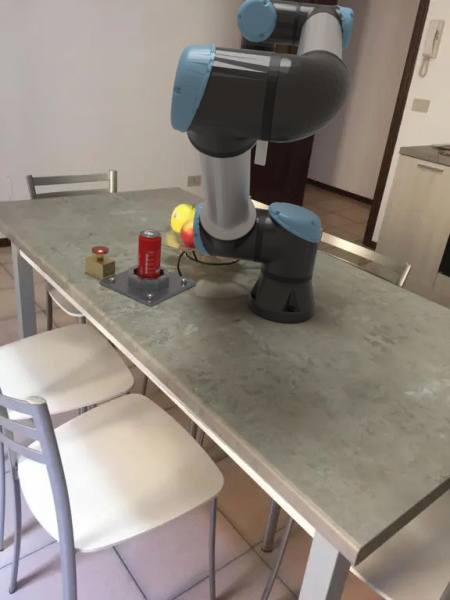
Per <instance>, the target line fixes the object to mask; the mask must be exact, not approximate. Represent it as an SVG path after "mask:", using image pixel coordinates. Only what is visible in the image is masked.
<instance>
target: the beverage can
mask: <svg viewBox="0 0 450 600" xmlns="http://www.w3.org/2000/svg"><path fill="white" fill-rule="evenodd" d="M162 240H163V239H162V234H161V232H159V231H157V230H151V229H145V230H142V231H140V232H139V235H138V246H137V247H138V248H137V249H138V250H137V265H138V276H139V277H142V278H158V277H160V266H161V263H162V262H161V260H162V259H161V258H162V257H161V256H162Z"/></svg>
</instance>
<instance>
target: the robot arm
mask: <svg viewBox="0 0 450 600" xmlns="http://www.w3.org/2000/svg"><path fill="white" fill-rule="evenodd" d="M354 17H355V14H354V10H353V9H352V8H351V7H345V6H340V5H338V4H337V5H336V4H334V5H330V4H319V3H318V4H317V3H307V2H305V3H304V2H298V1H289V0H245V1H244V2H242V4H241V5H240V7H239V9H238V12H237V15H236V24H237V27H238V30H239V32H240V34H241V36H242V40H241V48H230V47H223V46H222V47H220V46H216V44H214V43H213V44H212V43H210V44H209V45H208V44H207V45H206V44H191V45H188V46H186V47H185V48H184V49H183V50H182V52H181V55H180V57H179V59H178V64H177V67H176V70H175V71H176V72H175V75H174V76H175V77H174V81H173V87H172V93H171V94H172V96H171V105H170V125H171V127H172V129H173V130H175V131H179V132H180V133H186V134H187V138H188V141H189V143H190V144H191V146H192V147H193V148H194V149H195V150H196V151H197V152H198V153H199V160H200V162H199V163H200V169H201V176H202V184H203V192H204V200H203V201H201V202H199V203H198V204H197V206H196V208H195V213H194V217H193V221H192V233H193V237H192V239H193V243H194V247H195V249H196V250H197V252H199V254H200V255H201V254H202V255H206V256H209V257H212V258H224V259H230V260H237V261H246V262H253V263H258V264H261V265H260V271H259V273H258V276H257V278H256V280H255V282H254V284H253V286H252V288H251V289H250V292H249V294H248V295H249V296H248V302H247V303H248V307H249V309H250V310H251V311H252V312H253V313H255V314H256V315H257V316H259V317H262V318H264V319H267V320H269V321H273V322H279V323H285V324H287V323H289V324H293V323H294V324H295V323H302V322H305V321H308V320H309V319H311V318H312V317H313V315H314V312H315V306H316V299H315V296H314V289H313V287H314V286H313V275H314V270H315V263H316V259H317V253H318V247H319V243H320V242H321V231H322V221H321V218H320V217H319V216H318V215H317V214H316V213H315V212H314V211H311V210H310V209H308V208H306V207H303V206H301V205H297V204H293V203H288V202H278V201H276V202H275V201H274V202H271V204H269V205H268V207H267V209H265V208H259V207H256V206H255V204H254V202H253V200H252V199H251V197H250V194H251V193H250V190H251V189H250V188H251V187H250V186H251V157H252V156H251V155H252V154H251V153H252V151H251V150H252V149H253V148H254V147H255V146H256V148H255V155H254V161H253V162H254V164H255V165H259V166H263V167H265V165H266V161H267V154H268V153H267V151H268V146H269V143H276V144H277V143H278V144H282V143H284V144H285V143H293V142H296V141H301V140H304V139H306V138H308V137H311V136H313V135H315V134H317V133H318V132H320V131H321V130H323V129H324V128H326V127H328V125H329V124H331V123H332V122H333V121H334V120H335V119H336V118H337V117H338V115H339V114H340V113H341V112H342V111H343V109H344V107H345V104H346V103H347V100H348V98H349V93H350V84H351V83H350V74H349V70H348V67H347V65H346V63H345V62H344V61H343V51H345V50H346V49H347V48H348V46H349V45H350V41H351V37H352V30H353V25H354ZM277 45H288V46H294V47H298V48H297V52H296V54H293V53H291V54H290V53H282V52H281V53H278V52H276V47H277Z"/></svg>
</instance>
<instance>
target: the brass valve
mask: <svg viewBox="0 0 450 600" xmlns="http://www.w3.org/2000/svg"><path fill="white" fill-rule="evenodd" d="M109 250H110V249H109V248H108V247H107V246H102V245H97V246H92V247H91V250H90V251H91V253H92V254H93V255H90V256H86V257H85V258H84V260H85V261H84V264H85V269H84V270H85V274H88V275H90V276H91V277H94V278H97V279H99V280H103V279H106V278H108V277H111V276H113V275H116V260H114V259H112V258H109V257H107V256H105V255H108V253H109V252H110V251H109Z"/></svg>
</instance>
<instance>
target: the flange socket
mask: <svg viewBox="0 0 450 600" xmlns="http://www.w3.org/2000/svg"><path fill="white" fill-rule="evenodd" d="M99 285H101V286H103V287H105V288H108V289H110V290H113V291H114V292H117V293H119V294H121V295H124V296H126V297H128V298H130V299H133V300H135V301H137V302H139V303H142V304H144V305H146V306H148V307H150V308H151V307H153V306H155V305H158V304H160V303H161V302H164V301H165V300H168V299H170V298H171V297H174V296H176V295H178V294H180V293H183V292H184V291H186V290H188V289H191V288H193V287H195V286H196V281H194V280H192V279H188V278H187V277H183V276H181V275H179V274H176V273H174V272H172V271H169V269H168V268H167V267H163V266H161V265H160V277H158V278H142V277H139V276H138V264H136V265H133V266H130V267H129V268H128V269H127V270H124V271H121V272H119V273H117V274H116V273H115V275H113V276H111V277H108V278H106V279H103V280H101V279H99Z"/></svg>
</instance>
